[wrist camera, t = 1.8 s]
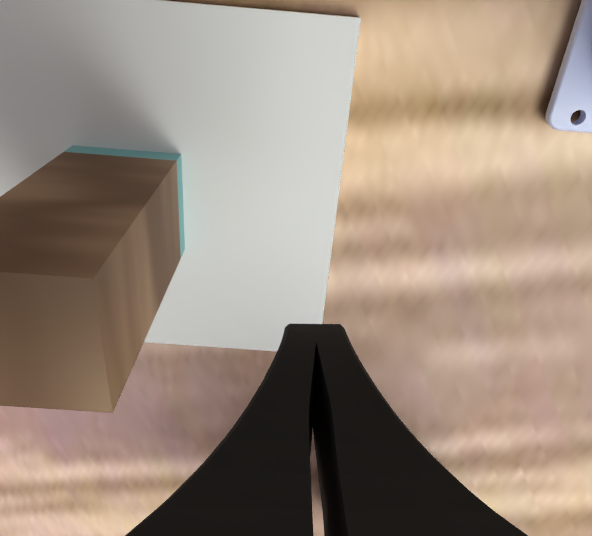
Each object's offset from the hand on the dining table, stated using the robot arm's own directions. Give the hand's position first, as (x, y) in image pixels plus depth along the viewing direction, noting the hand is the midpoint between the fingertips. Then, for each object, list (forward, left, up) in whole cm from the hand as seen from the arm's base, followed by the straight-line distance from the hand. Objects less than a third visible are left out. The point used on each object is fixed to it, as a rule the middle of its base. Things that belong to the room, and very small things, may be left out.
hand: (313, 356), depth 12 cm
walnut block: (+7, 0, -9) cm, 11 cm away
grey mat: (+8, 0, -9) cm, 12 cm away
